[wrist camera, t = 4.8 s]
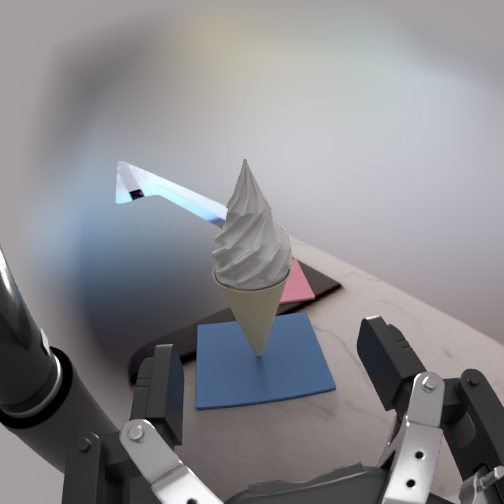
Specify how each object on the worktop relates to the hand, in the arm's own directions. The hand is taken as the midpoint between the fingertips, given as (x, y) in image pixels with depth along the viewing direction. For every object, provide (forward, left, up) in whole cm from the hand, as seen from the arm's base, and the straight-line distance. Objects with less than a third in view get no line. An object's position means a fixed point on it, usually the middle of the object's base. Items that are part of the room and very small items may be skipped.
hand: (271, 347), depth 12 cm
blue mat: (0, +8, -9) cm, 12 cm away
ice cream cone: (0, +8, -9) cm, 12 cm away
